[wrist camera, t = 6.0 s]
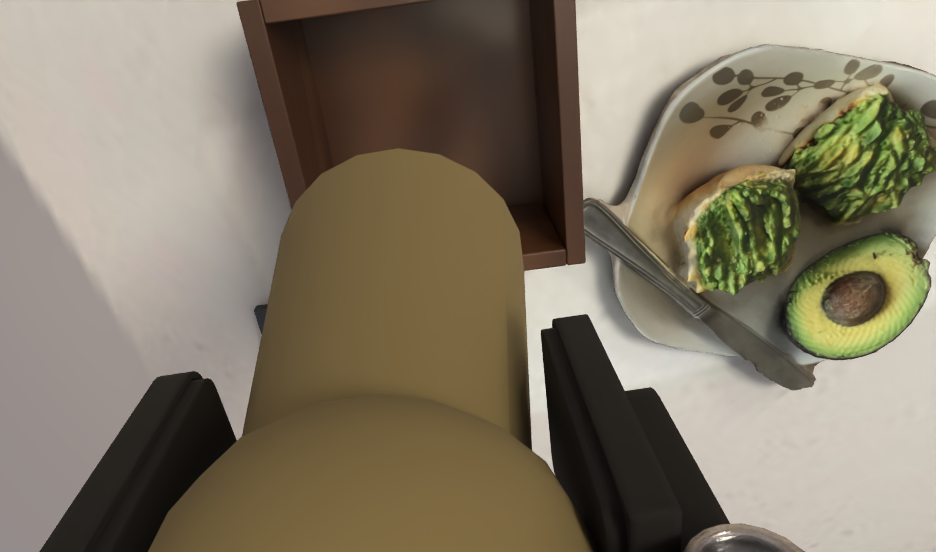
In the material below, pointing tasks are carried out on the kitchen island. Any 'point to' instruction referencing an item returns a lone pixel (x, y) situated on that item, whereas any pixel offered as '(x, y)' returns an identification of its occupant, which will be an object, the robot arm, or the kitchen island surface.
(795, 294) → the avocado toast plate
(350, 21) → the bin
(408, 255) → the cork
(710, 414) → the kitchen island surface
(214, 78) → the kitchen island surface
